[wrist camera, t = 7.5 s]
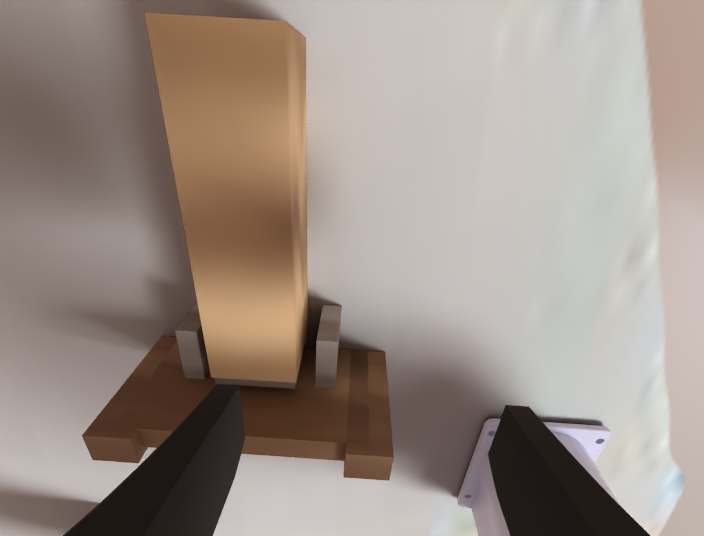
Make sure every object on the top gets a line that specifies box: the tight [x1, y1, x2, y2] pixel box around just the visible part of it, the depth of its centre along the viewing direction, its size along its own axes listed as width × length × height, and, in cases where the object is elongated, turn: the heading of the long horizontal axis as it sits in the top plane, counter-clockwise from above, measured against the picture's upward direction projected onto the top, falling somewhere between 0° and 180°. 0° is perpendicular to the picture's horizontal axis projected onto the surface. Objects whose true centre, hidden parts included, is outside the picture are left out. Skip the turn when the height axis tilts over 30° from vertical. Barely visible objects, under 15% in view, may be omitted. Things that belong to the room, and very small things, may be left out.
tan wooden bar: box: [144, 12, 308, 389], centre depth 15 cm, size 14×4×4 cm, turn 177°
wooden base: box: [82, 302, 394, 480], centre depth 17 cm, size 5×13×6 cm, turn 86°
